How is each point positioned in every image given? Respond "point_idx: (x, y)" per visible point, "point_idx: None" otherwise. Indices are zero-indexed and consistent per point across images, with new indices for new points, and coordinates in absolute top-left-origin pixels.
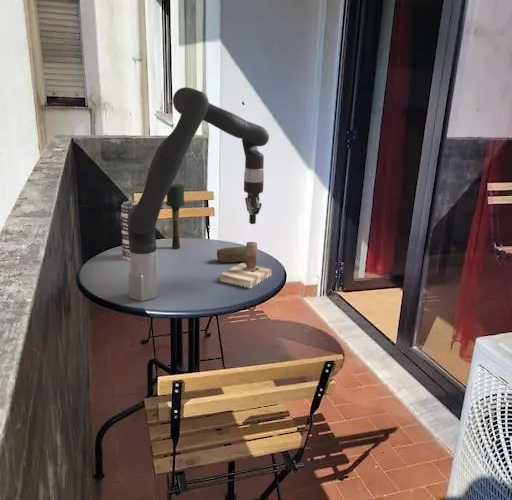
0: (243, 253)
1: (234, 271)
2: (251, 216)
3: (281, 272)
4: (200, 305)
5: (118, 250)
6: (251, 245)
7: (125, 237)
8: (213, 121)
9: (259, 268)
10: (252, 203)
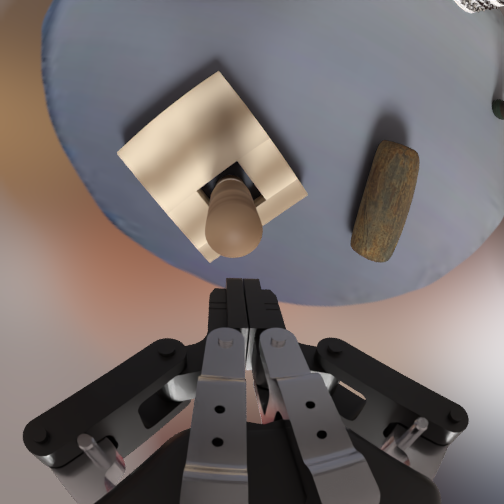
0: (364, 227)
1: (225, 128)
2: (227, 324)
3: None
4: (75, 6)
5: None
6: (207, 218)
7: None
8: None
9: None
10: (164, 461)
